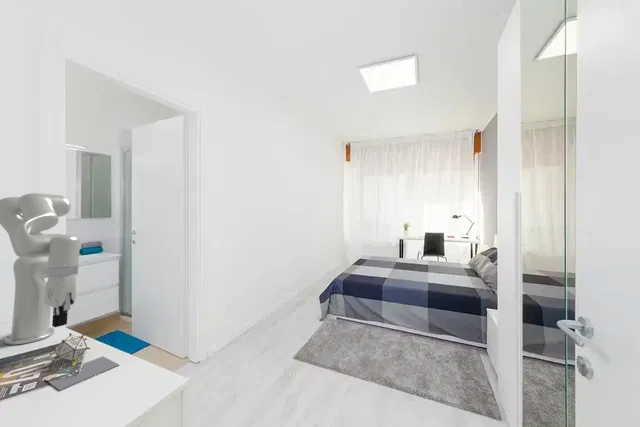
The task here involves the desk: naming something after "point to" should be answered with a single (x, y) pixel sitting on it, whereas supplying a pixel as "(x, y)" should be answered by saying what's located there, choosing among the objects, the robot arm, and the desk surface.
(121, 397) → the desk surface
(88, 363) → the charcoal mat
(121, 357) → the desk surface
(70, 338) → the game die
